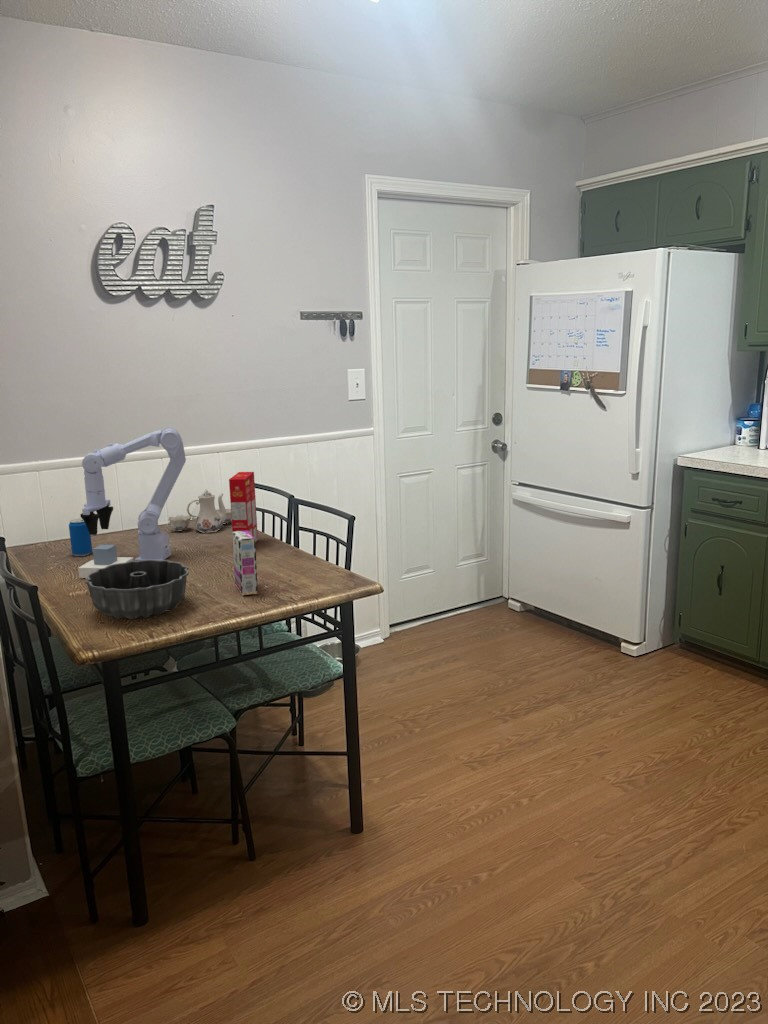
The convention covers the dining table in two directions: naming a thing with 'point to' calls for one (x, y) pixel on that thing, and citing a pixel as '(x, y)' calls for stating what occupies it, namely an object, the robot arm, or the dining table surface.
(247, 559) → the candy bar box
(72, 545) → the beverage can
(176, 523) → the chinaware
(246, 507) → the food packaging
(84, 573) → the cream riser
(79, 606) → the dining table surface
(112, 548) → the blue cube
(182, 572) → the bundt pan
